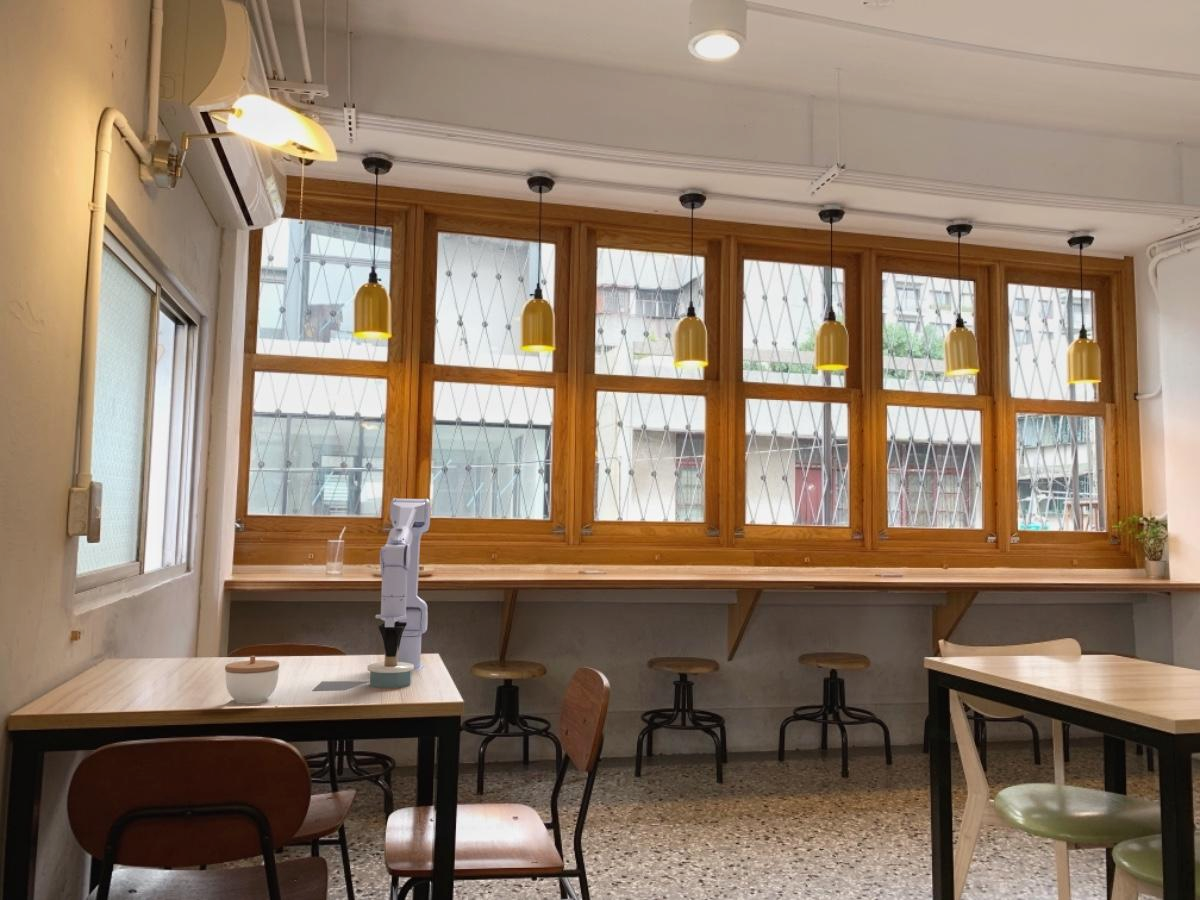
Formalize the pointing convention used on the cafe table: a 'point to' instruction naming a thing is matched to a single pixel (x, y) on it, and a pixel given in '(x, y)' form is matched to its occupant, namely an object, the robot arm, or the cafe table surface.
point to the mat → (337, 685)
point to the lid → (390, 666)
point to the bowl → (390, 679)
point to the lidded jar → (251, 680)
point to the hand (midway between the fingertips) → (391, 655)
